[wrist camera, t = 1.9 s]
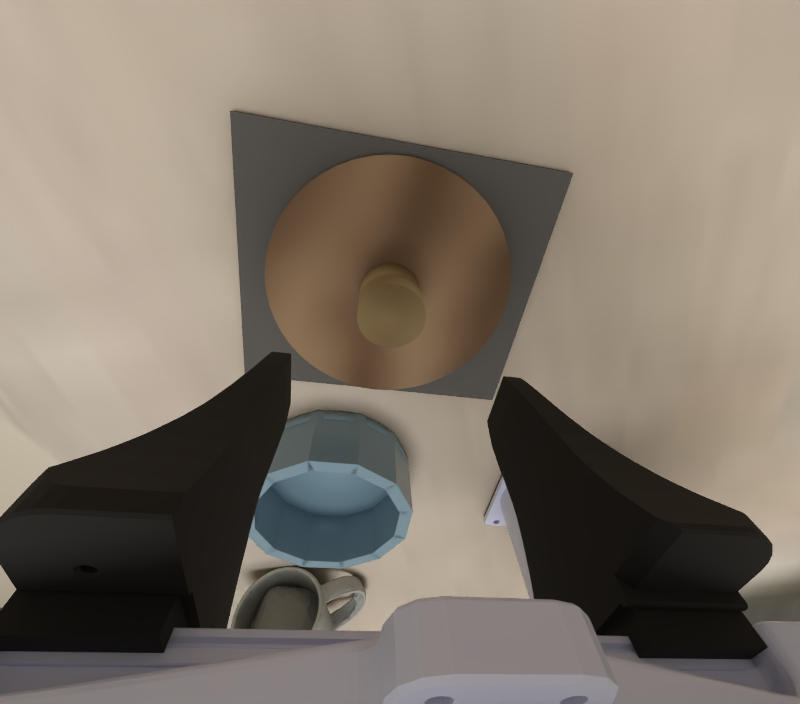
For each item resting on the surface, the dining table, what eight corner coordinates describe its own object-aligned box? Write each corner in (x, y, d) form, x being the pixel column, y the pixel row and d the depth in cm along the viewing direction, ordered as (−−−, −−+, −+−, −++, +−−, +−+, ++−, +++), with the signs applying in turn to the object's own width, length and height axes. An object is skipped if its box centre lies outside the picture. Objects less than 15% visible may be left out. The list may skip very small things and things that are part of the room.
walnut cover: (540, 179, 19) (577, 191, 15) (472, 391, 25) (487, 433, 22) (266, 130, 17) (237, 132, 14) (269, 371, 23) (251, 413, 20)
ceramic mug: (270, 614, 39) (250, 712, 33) (244, 570, 35) (215, 673, 28) (371, 600, 39) (372, 696, 33) (358, 555, 35) (355, 655, 28)
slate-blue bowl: (419, 418, 27) (426, 468, 23) (395, 517, 32) (397, 571, 28) (256, 403, 25) (234, 454, 21) (260, 509, 31) (243, 565, 27)
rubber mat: (569, 172, 19) (573, 173, 18) (490, 396, 26) (492, 399, 26) (232, 110, 17) (230, 110, 16) (246, 371, 24) (244, 375, 24)
